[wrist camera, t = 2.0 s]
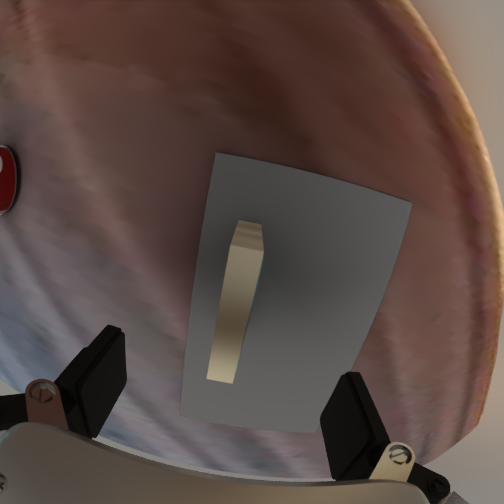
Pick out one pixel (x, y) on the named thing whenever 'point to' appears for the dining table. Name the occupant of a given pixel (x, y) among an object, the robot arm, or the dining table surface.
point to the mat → (289, 291)
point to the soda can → (7, 179)
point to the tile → (236, 300)
